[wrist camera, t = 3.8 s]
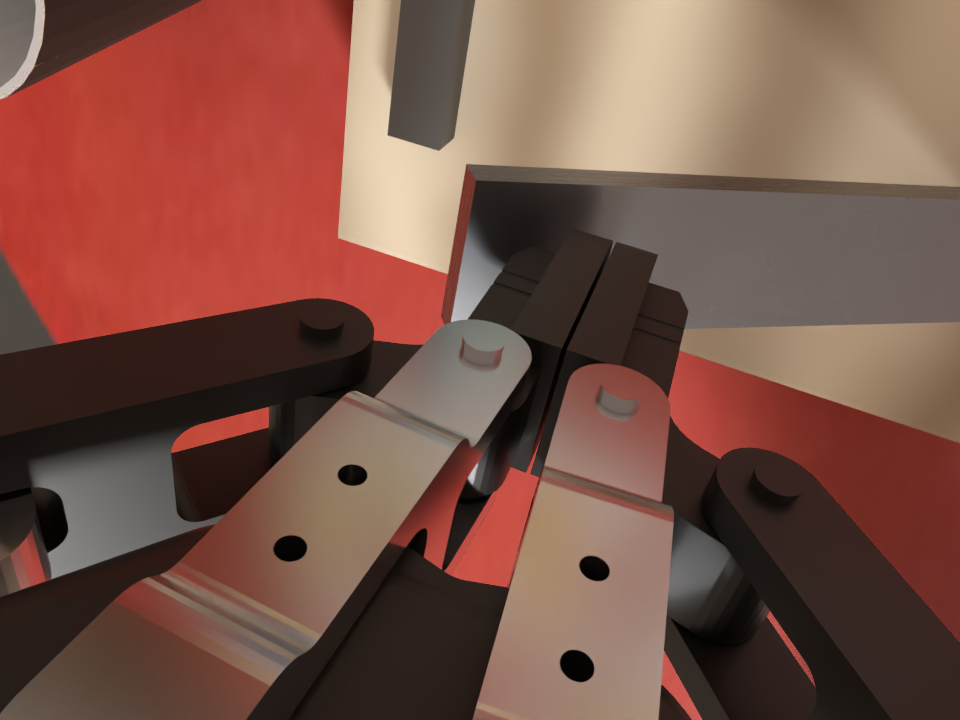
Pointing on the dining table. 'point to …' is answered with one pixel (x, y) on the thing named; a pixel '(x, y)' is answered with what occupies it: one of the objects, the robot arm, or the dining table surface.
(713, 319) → the strap
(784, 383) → the tea crate
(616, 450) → the robot arm
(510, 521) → the dining table surface
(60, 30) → the coffee mug
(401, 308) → the dining table surface
